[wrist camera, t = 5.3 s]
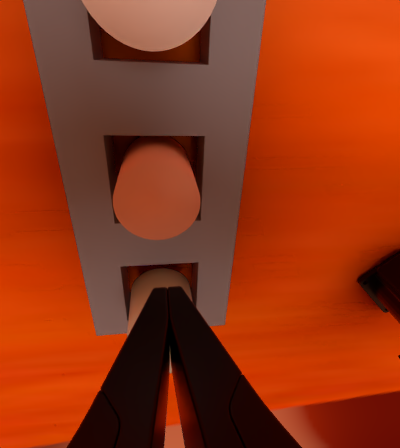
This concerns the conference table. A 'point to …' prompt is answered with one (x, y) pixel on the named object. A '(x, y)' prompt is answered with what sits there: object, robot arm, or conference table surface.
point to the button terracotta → (156, 189)
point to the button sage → (147, 283)
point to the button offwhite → (151, 21)
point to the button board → (149, 126)
